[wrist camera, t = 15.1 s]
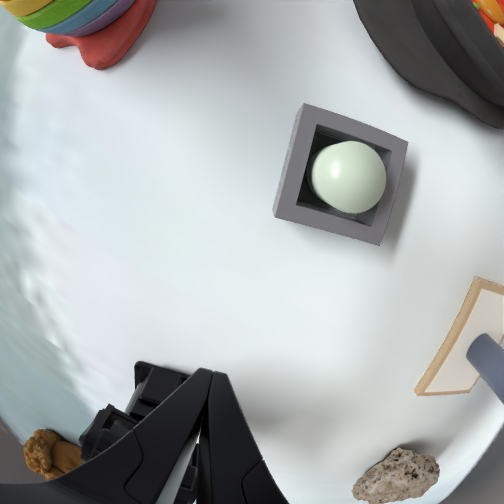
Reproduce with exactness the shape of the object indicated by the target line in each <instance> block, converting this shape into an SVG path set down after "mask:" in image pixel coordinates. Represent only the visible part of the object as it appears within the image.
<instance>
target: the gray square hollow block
mask: <svg viewBox="0 0 504 504" xmlns="http://www.w3.org/2000/svg"><path fill="white" fill-rule="evenodd" d="M315 132H317V133H320V134H324V135H327V136H330V137H333V138H336V139H339V140H342V141H345V142H347V141H356V142H360V143H363V144H365V145H367V146H369V147H371V148H372V149H373V150H374V151H375V152H376V153H377V154H378V155H379V157H380V158H381V160H382V162H383V164H384V167H385V171H386V185H385V189H384V192H383V195H382V197H381V198H380V200H379V201H378V202H377V203H376V204H375V205H374V206H373V207H372V208H370V209H368V210H366V211H364V212H361V213H358V214H357V217H356V218H355V217H352V216H348V215H345V214H342V213H338V212H335V211H331V210H328V209H324V208H321V207H317V206H314V205H310V204H307V203H303V202H299V201H297V198H298V195H299V191H300V187H301V183H302V180H303V176H304V172H305V168H306V164H307V160H308V157H309V153H310V149H311V145H312V141H313V137H314V133H315ZM407 146H408V142H407V141H405V140H403V139H400V138H398V137H396V136H394V135H391V134H389V133H387V132H384V131H382V130H379V129H377V128H375V127H372V126H370V125H367V124H364V123H362V122H359V121H356V120H354V119H351V118H348V117H345V116H343V115H340V114H337V113H334V112H331V111H328V110H324V109H321V108H318V107H315V106H311V105H308V104H305V103H304V104H303V105H302V107H301V108H300V109H299V111H298V112H297V116H296V120H295V124H294V128H293V132H292V136H291V140H290V144H289V148H288V151H287V155H286V159H285V163H284V167H283V171H282V175H281V179H280V183H279V187H278V191H277V194H276V198H275V202H274V206H273V213H274V216H275V218H279V219H283V220H287V221H291V222H295V223H299V224H303V225H306V226H310V227H314V228H318V229H321V230H325V231H329V232H333V233H336V234H340V235H343V236H347V237H350V238H354V239H358V240H361V241H365V242H368V243H371V244H375V245H378V246H380V244H381V241H382V238H383V235H384V231H385V228H386V225H387V222H388V219H389V215H390V212H391V209H392V205H393V202H394V198H395V195H396V191H397V187H398V184H399V180H400V176H401V172H402V168H403V164H404V159H405V155H406V150H407Z"/></svg>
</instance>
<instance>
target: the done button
mask: <svg viewBox="0 0 504 504" xmlns="http://www.w3.org/2000/svg"><path fill="white" fill-rule="evenodd" d="M307 181H308V184H309V187H310V189H311V190H312V192H313V193H314V194H315V195H316V196H317V197H318V198H320V199H321V200H323V201H324V202H326V203H328V204H330V205H331V206H333V207H335V208H336V209H338V210H340V211H343V212H346V213H361V212H364V211H366V210H368V209H370V208H372V207H373V206H374V205H375V204H376V203H377V202H378V201H379V200H380V198H381V197H382V195H383V192H384V189H385V185H386V171H385V167H384V164H383V162H382V160H381V158H380V157H379V155H378V154H377V153H376V152H375V151H374V150H373V149H372V148H371V147H369V146H367V145H365V144H363V143H360V142H356V141H347V142H342V143H338V144H334V145H330V146H327V147H324V148H321V149H320V150H318V151H317V152H316V153H315V154H314V155H313V156H312V157H311V159H310V161H309V163H308V166H307Z"/></svg>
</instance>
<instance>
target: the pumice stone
mask: <svg viewBox="0 0 504 504" xmlns="http://www.w3.org/2000/svg"><path fill="white" fill-rule="evenodd" d="M438 468H439V465H438V464H437V463H436V460H435V459H434V457H432V456H424V455H420V454H417V453H416V452H414V451H413V450H406V449H401V448H400V447H398V448H397V449H396V450H392V453H390V455H389V456H388V457H387V458H386V459H385V460H384V461H382V462H380V463H379V464H376V465H375V466H374V467H372V468H371V469H370V470H369V471H368V472H366V473H365V474H364V475H363V476H362V477H361V478H359V479H358V480H357V482H356V484H354V485H353V490H352V492H353V496H354V497H355V498H356V499H357V500H358V501H359V500H363V501H369V504H384V503H387V502H395V501H403V500H405V499H408V498H417V497H421V496H423V494H424V493H425V492H426V491H427V490H428V489H429V488H430V487H431V486H432V485H434V484H436V483H437V481H438V477H439V472H440V469H438Z"/></svg>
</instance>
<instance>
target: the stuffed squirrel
mask: <svg viewBox="0 0 504 504" xmlns="http://www.w3.org/2000/svg"><path fill="white" fill-rule="evenodd" d="M24 454H25V460H26V463H27V465H28V467H29V468H30V469H32V470H33V471H35V473H37V474H42V475H43V474H45V477H46V481H48V480H52V479H55V478H57V477H59V476H61V475H64V474H65V473H67V472H69V471H71V470H73V469H75V468H76V467H78V466H80V465H82V464H83V463H84V462H82V461H80V456H81V448H80V447H78V446H76V445H74V444H72V443H69V442H66V441H62V438H61V437H60V436H59V435H57V434H56V433H54V432H53V431H51V430H50V431H49V430H44V429H41V430H39V429H38V430H37V431H34V437H30V439H29V440H27V441H26V443H25V447H24Z"/></svg>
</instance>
